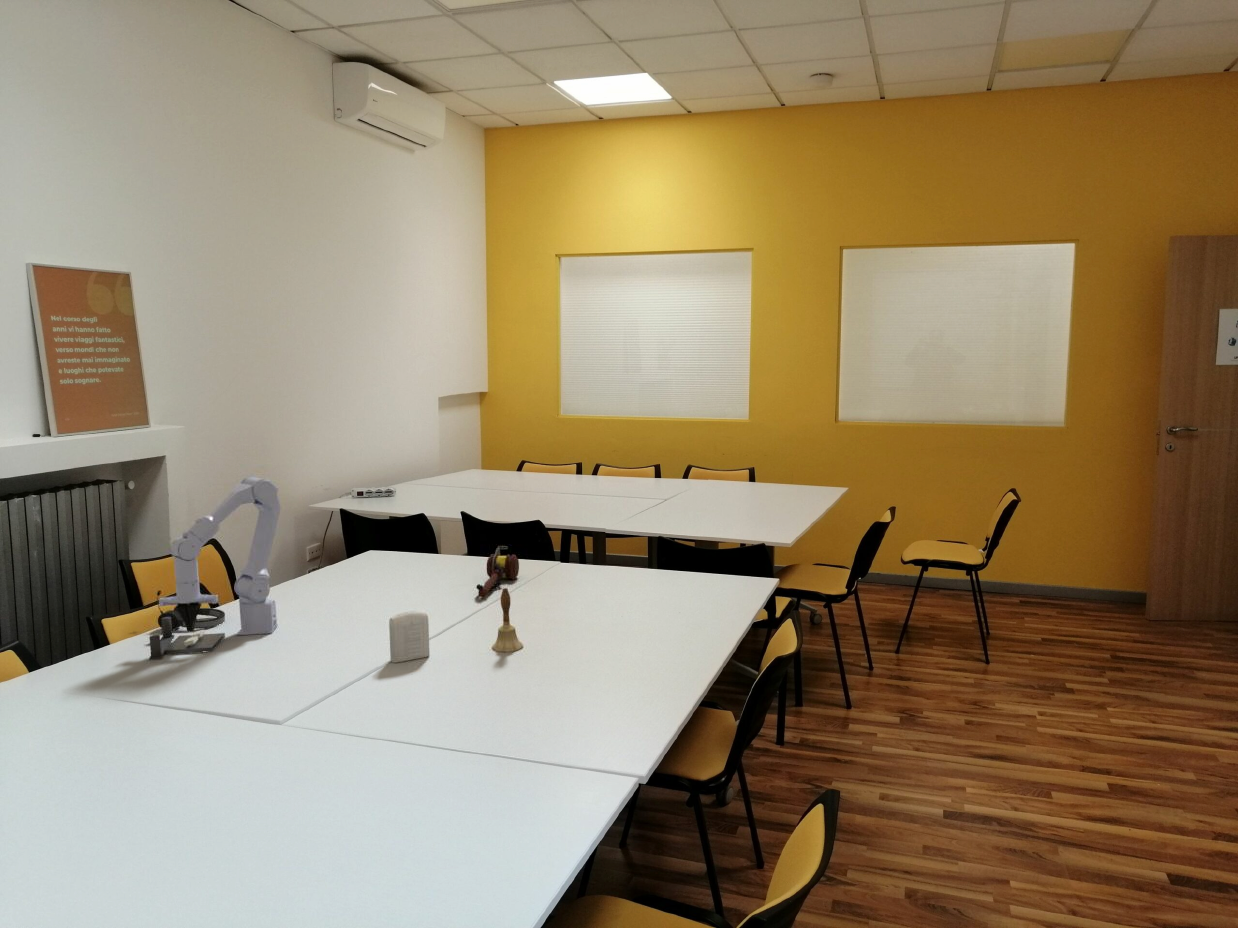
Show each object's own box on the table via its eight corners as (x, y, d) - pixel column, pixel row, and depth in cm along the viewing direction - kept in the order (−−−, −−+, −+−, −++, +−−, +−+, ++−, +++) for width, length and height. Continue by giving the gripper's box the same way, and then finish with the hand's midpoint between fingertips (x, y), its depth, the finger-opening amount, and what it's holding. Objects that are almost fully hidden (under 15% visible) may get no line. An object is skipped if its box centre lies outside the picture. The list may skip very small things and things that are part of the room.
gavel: (497, 607, 293) (467, 606, 295) (521, 573, 327) (494, 572, 328) (496, 577, 291) (465, 576, 293) (520, 545, 325) (492, 545, 326)
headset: (166, 585, 278) (233, 591, 278) (165, 616, 279) (231, 622, 279) (144, 597, 265) (214, 603, 265) (143, 629, 266) (212, 635, 266)
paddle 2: (204, 632, 256) (203, 629, 256) (200, 636, 252) (199, 633, 252) (195, 635, 256) (194, 631, 256) (191, 639, 252) (190, 635, 252)
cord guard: (174, 636, 260) (172, 616, 260) (161, 659, 241) (159, 637, 240) (162, 637, 260) (161, 617, 259) (149, 661, 240) (147, 638, 239)
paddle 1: (198, 639, 250) (197, 635, 250) (194, 643, 247) (193, 639, 246) (189, 641, 250) (188, 638, 250) (185, 645, 246) (184, 642, 246)
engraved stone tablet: (426, 652, 242) (424, 606, 241) (432, 656, 238) (430, 610, 237) (388, 660, 236) (385, 613, 235) (393, 664, 233) (391, 617, 231)
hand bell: (485, 649, 243) (483, 590, 241) (503, 640, 251) (501, 583, 249) (511, 654, 239) (509, 594, 238) (529, 644, 247) (527, 586, 245)
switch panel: (224, 637, 259) (224, 632, 258) (211, 651, 246) (211, 647, 246) (179, 639, 257) (179, 635, 257) (164, 654, 244) (163, 650, 244)
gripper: (153, 586, 244) (157, 636, 246) (211, 583, 246) (215, 632, 248) (162, 579, 251) (166, 628, 253) (218, 577, 253) (222, 625, 255)
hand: (191, 630), depth 251 cm, fingers closed
